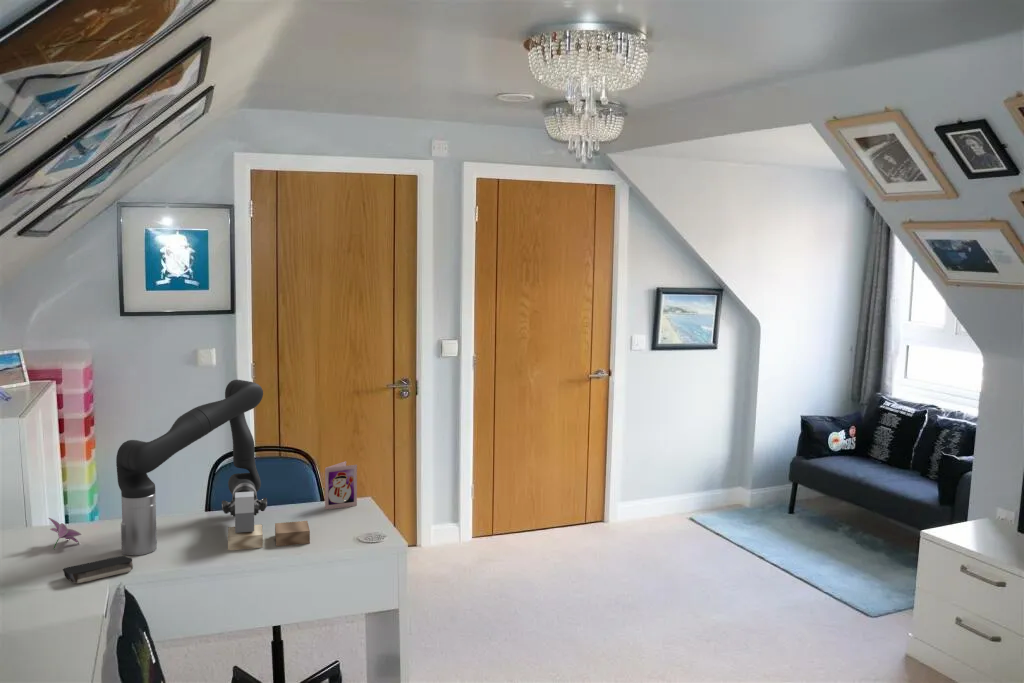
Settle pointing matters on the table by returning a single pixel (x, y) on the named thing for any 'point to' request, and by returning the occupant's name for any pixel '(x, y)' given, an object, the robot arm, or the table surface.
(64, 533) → the lily
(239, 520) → the block
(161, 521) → the table surface
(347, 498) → the greeting card
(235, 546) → the birch stand
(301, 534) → the walnut stand
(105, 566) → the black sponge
